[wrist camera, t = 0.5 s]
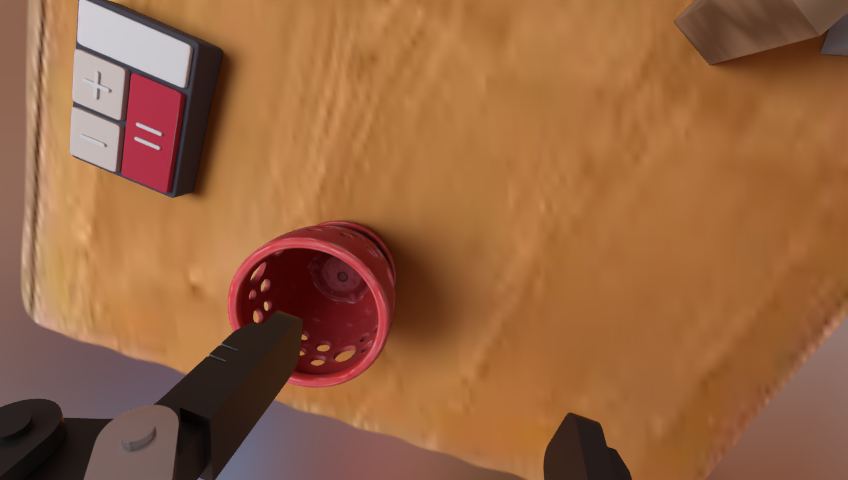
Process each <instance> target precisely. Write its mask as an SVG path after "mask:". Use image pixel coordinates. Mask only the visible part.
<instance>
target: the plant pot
mask: <svg viewBox="0 0 848 480" xmlns="http://www.w3.org/2000/svg"><path fill="white" fill-rule="evenodd" d="M259 266H260V267H259ZM258 267H259V269H258V271H257V273H256V274H255V276H254V277H253V278H252V279H251V276H252V274H253V272H254V271H255V270H256V269H257V268H258ZM250 279H251V280H250ZM264 280H265V287H264V289H263V291H262V292H261V284H262V282H263V281H264ZM395 285H396V269H395V264H394V260H393V258H392V255H391V253H390V251H389V249H388V248H387V246H386V245H385V244H384V242H383V241H382V240H381V239H380V238H379V237H378V236H377V235H376V234H375V233H373V232H372V231H370V230H369V229H367V228H365V227H364V226H361V225H359V224H356V223H352V222H348V221H328V222H324V223H321V224H318V225H316V226H310V227H304V228H301V229H297V230H294V231H292V232H289V233H286V234H284V235H281V236H279V237H277V238H275V239H273V240H272V241H270V242H268V243H266V244H265V245H263V246H262V247H260V248H259V249H257V250H256V251H254V252H253V253H252V254H251V255H250V256H248V257H247V258H246V259H245V261H244V262H243V263H242V264H241V265H240V267H239V268H238V270H237V272H236V274H235V276H234V278H233V280H232V282H231V285H230V290H229V294H228V314H229V320H230V324H231V327H232V330H233V332H234V331H235V330H237V329H239V328H241V327H243V326H246V325H248V324H250V323H252V322H254V320H253V313H254V311H256V312H257V314H258V317H259V321H258V323H259V324H263V323H264V322H265V321H266V320H267V319H268V318H269V317H270V316H271V315H272V314H273V313H275V312H276V311H281V312H284V313H287V314H290V315H293V316H296V317H299V318H301V319H302V320H303V328H302V335H305V336H306V337H307V338H308V339H307V340H301V346H300V351H302V352H304V353H305V355H302V356H300V355H299V360H298V363H297V365H296V368H295V370H294V372H293V373H292V375H291V377H290V378H289V379H288V381H287V382H288V383H291V384H295V385H299V386H304V387H329V386H334V385H339V384H342V383H345V382H347V381H349V380H352V379H354V378H355V377H357V376H359V375H360V374H361V373H363V372H364V371H365V370H367V369H368V368H369V367H370V366H371V365H372V364H373V363H374V361H375V360H376V359H377V358H378V356H379V355H380V353H381V351H382V350H383V348H384V346H385V343H386V341H387V338H388V335H389V332H390V328H391V325H392V321H393V316H394V309H395ZM250 292H251V295H250V298H249V294H250ZM265 301H266V302H267V303H268V311H266V310H265V309H264V302H265ZM365 339H366V340H365ZM320 345H328V346H330V349H329V350H328V351H324V352H323V351H318V350H317V347H318V346H320ZM349 350H356V352H355V353H354V355H353V356H352V357H351V358H349V359H348V360H346V361H343V362H338V361H336V360H335V358H336V357H337V356H338V355H339V354H341V353H342V352H345V351H349ZM314 360H322V361H325V363H324V364H322V365H319V366H315V365H312V364H311V362H312V361H314Z"/></svg>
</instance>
